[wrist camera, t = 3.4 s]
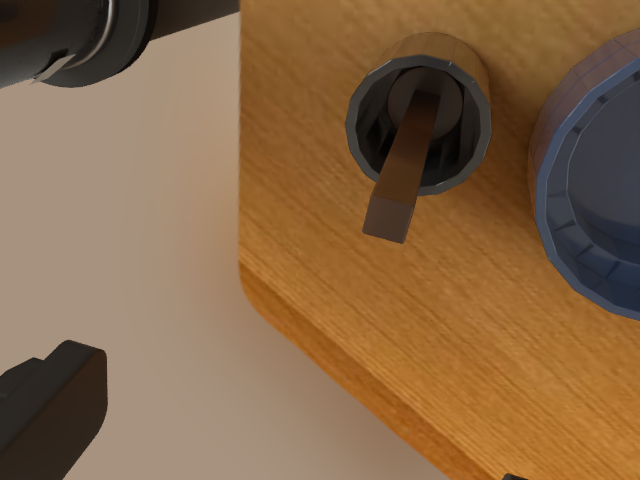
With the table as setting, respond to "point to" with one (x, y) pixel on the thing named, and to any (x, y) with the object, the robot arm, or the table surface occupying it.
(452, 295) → the table surface
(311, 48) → the table surface
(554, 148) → the mixing bowl
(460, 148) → the crock
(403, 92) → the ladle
